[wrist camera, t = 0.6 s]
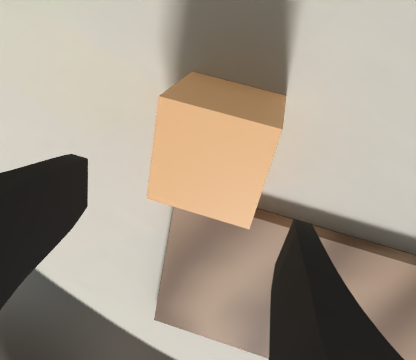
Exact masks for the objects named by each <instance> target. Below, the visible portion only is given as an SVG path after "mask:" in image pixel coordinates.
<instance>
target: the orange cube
mask: <svg viewBox="0 0 416 360" xmlns="http://www.w3.org/2000/svg"><path fill="white" fill-rule="evenodd" d="M285 103H286V96H285V95H282V94H278V93H274V92H270V91H266V90H262V89H258V88H254V87H251V86H247V85H243V84H239V83H235V82H231V81H227V80H224V79H220V78H216V77H212V76H208V75H204V74H200V73H196V72H193V71H192V72H190V73H189V74H188V75H186V76H185V77H184V78H182V79H181V80H180V81H178V82H177V83H176V84H174V85H173V86H172V87H170V88H169V89H168V90H166V91H165V92H164V93H162V94H161V95H160V96H159V99H158V107H157V116H156V124H155V132H154V141H153V149H152V158H151V166H150V174H149V183H148V191H147V199H150V200H153V201H157V202H160V203H163V204H167V205H170V206H173V207H176V208H180V209H183V210H186V211H190V212H193V213H196V214H200V215H203V216H206V217H210V218H213V219H216V220H220V221H223V222H226V223H229V224H233V225H236V226H239V227H243V228H246V229H250V226H251V223H252V220H253V217H254V214H255V211H256V208H257V205H258V202H259V199H260V196H261V193H262V190H263V187H264V184H265V181H266V178H267V175H268V172H269V169H270V166H271V163H272V160H273V157H274V154H275V151H276V148H277V145H278V142H279V139H280V136H281V133H282V130H283V121H284V112H285Z"/></svg>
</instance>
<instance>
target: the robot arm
mask: <svg viewBox="0 0 416 360" xmlns="http://www.w3.org/2000/svg"><path fill="white" fill-rule="evenodd" d="M87 193H88V159H87V158H84V157H80V156H77V155H73V154H69V155H64V156H60V157H56V158H52V159H49V160H45V161H42V162H38V163H35V164H31V165H28V166H24V167H21V168H17V169H14V170H10V171H6V172H2V173H0V310H1V308H2V307H3V306H4V304H5V303H6V302H7V300H8V299H9V298H10V297H11V295H12V294H13V293H14V291H15V290H16V289H17V287H18V286H19V285H20V284H21V283H22V282H23V281H24V279H25V278H26V277H27V276H28V275H29V274H30V273H31V272H32V271H33V269H35V268H36V266H37V265H38V264H39V263H40V262H41V261H42V260H43V259H44V258H45V257H46V256H47V255H48V254H49V253H50V252H51V251H52V250H53V249H54V247H55V246H56V245H57V244H58V243H59V242H60V241H61V240H62V239H63V238H64V237H65V236H66V235H67V234H68V232H69V231H70V230H71V229H72V228H73V226H74V225H75V224H76V222H77V221H78V220H79V218H80V217H81V215H82V214H83V212H84V211H85V209H86V208H87ZM269 360H404V359H403V358H402V357H401V355H400V354H399V353H398V352H397V351H396V350H395V349H394V348H393V346H392V345H391V344H390V343H389V342H388V341H387V340H386V338H385V337H384V336H383V335H382V334H381V332H380V331H379V330H378V329H377V327H376V326H375V325H374V323H373V322H372V321H371V320H370V318H369V317H368V316H367V314H366V313H365V312H364V311H363V309H362V308H361V306H360V305H359V304H358V302H357V301H356V299H355V298H354V296H353V295H352V293H351V292H350V290H349V289H348V287H347V286H346V284H345V283H344V281H343V280H342V278H341V276H340V275H339V273H338V271H337V270H336V268H335V266H334V264H333V263H332V261H331V259H330V257H329V255H328V254H327V252H326V250H325V248H324V246H323V244H322V242H321V240H320V238H319V236H318V234H317V233H316V231H315V229H314V227H313V225H312V224H309V223H305V222H302V221H298V220H295V219H293V222H292V224H291V227H290V229H289V231H288V234H287V236H286V239H285V241H284V244H283V246H282V248H281V251H280V253H279V256H278V258H277V261H276V263H275V267H274V274H273V280H272V287H271V301H270V341H269Z"/></svg>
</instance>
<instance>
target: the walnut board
mask: <svg viewBox="0 0 416 360" xmlns="http://www.w3.org/2000/svg"><path fill="white" fill-rule="evenodd" d="M292 222H293V219H290V218H287V217H284V216H280V215H277V214H274V213H270V212H267V211H263V210H260V209H257V208H256V211H255V214H254V217H253V220H252V223H251V226H250V229H246V228H243V227H239V226H236V225H233V224H229V223H226V222H223V221H220V220H216V219H213V218H210V217H206V216H203V215H200V214H196V213H193V212H190V211H186V210H183V209H180V208H176V207H174V208H173V214H172V220H171V225H170V231H169V237H168V243H167V249H166V254H165V260H164V266H163V272H162V278H161V283H160V289H159V295H158V301H157V307H156V312H155V318H154V320H156V321H159V322H162V323H165V324H168V325H171V326H174V327H177V328H180V329H183V330H186V331H189V332H192V333H195V334H198V335H201V336H204V337H206V338H209V339H212V340H215V341H218V342H221V343H224V344H227V345H230V346H233V347H236V348H239V349H242V350H245V351H248V352H251V353H254V354H257V355H260V356H262V357H265V358H268V359H269V341H270V301H271V287H272V280H273V274H274V267H275V263H276V261H277V258H278V256H279V253H280V251H281V248H282V246H283V244H284V241H285V239H286V236H287V234H288V231H289V229H290V227H291V224H292ZM313 227H314V229H315V231H316V233H317V234H318V236H319V238H320V240H321V242H322V244H323V246H324V248H325V250H326V252H327V254H328V255H329V257H330V259H331V261H332V263H333V264H334V266H335V268H336V270H337V271H338V273H339V275H340V276H341V278H342V280H343V281H344V283H345V284H346V286H347V287H348V289H349V290H350V292H351V293H352V295H353V296H354V298H355V299H356V301H357V302H358V304H359V305H360V306H361V308H362V309H363V311H364V312H365V313H366V314H367V316H368V317H369V318H370V320H371V321H372V322H373V323H374V325H375V326H376V327H377V329H378V330H379V331H380V332H381V334H382V335H383V336H384V337H385V338H386V340H387V341H388V342H389V343H390V344H391V345H392V346H393V348H394V349H395V350H396V351H397V352H398V353H399V354H400V355H401V357H402V358H403V359H404V360H416V255H412V254H409V253H406V252H402V251H399V250H396V249H392V248H389V247H385V246H382V245H379V244H375V243H372V242H368V241H365V240H362V239H358V238H355V237H351V236H348V235H345V234H341V233H338V232H335V231H331V230H328V229H324V228H321V227H318V226H314V225H313Z"/></svg>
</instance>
